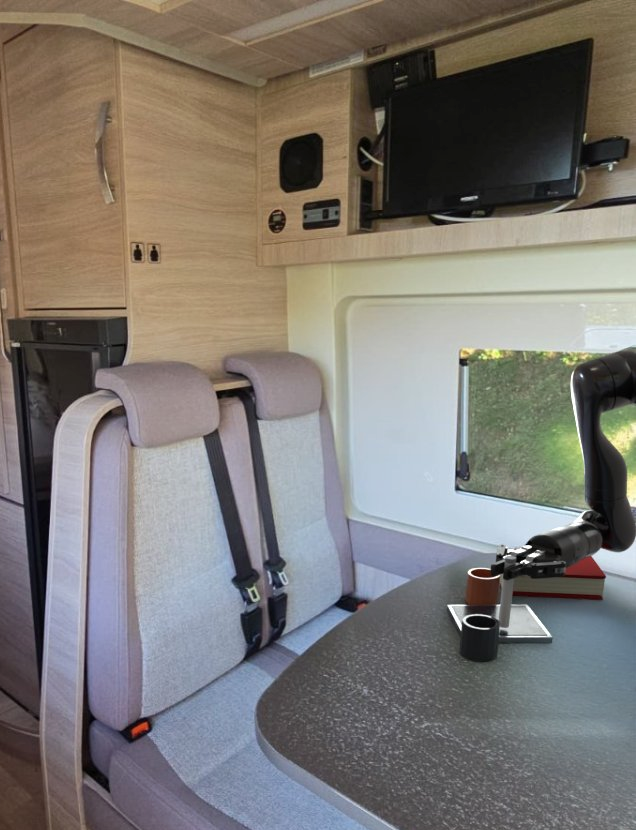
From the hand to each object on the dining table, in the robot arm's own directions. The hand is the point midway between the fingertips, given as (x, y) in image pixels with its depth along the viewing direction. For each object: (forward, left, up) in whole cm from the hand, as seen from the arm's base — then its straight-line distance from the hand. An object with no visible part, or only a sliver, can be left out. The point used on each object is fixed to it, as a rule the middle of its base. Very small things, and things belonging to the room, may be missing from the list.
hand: (499, 572), depth 123 cm
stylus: (-2, -2, -11) cm, 11 cm away
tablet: (-2, -6, -13) cm, 14 cm away
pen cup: (-2, -17, -13) cm, 21 cm away
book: (-17, -25, -13) cm, 33 cm away
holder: (+4, +5, -13) cm, 14 cm away
